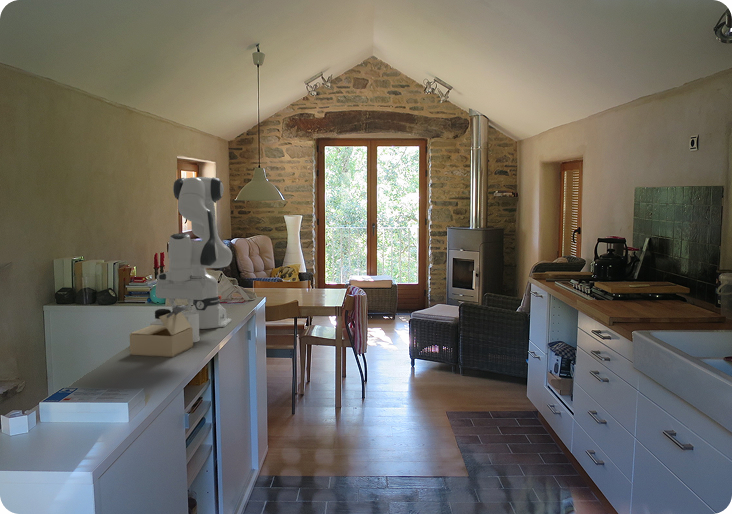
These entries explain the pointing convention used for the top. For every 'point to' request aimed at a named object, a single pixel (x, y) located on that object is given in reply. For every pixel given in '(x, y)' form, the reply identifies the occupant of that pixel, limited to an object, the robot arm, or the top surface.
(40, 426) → the top surface
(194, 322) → the mug
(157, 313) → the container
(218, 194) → the robot arm
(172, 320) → the near flap
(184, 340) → the carton
